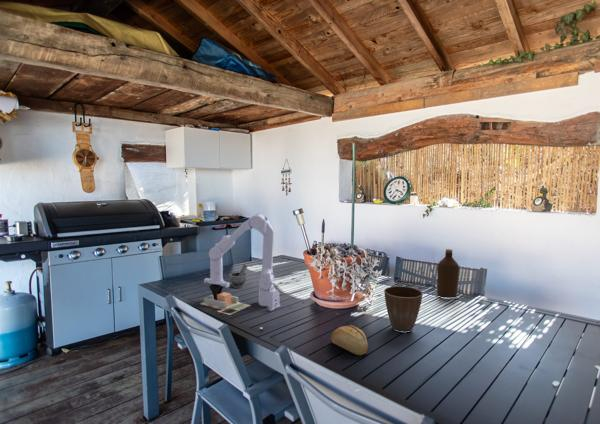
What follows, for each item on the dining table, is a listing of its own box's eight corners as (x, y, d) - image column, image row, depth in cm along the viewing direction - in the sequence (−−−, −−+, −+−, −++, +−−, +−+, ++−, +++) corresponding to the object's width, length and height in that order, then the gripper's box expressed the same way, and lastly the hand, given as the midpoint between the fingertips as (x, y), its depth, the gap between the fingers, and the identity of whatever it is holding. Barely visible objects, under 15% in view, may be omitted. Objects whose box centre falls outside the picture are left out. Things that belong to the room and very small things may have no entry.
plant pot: (394, 339, 142) (396, 298, 140) (376, 324, 156) (377, 287, 155) (428, 335, 146) (430, 296, 144) (407, 321, 160) (409, 285, 159)
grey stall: (238, 302, 177) (238, 297, 177) (224, 308, 169) (224, 302, 168) (218, 297, 183) (217, 292, 183) (203, 303, 175) (203, 297, 175)
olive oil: (451, 301, 186) (453, 252, 184) (431, 296, 195) (434, 249, 192) (461, 297, 193) (464, 250, 191) (442, 292, 201) (444, 247, 199)
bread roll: (340, 338, 143) (341, 318, 142) (374, 351, 133) (375, 329, 132) (324, 346, 136) (325, 325, 135) (358, 360, 126) (359, 337, 125)
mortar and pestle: (236, 290, 201) (236, 268, 199) (226, 286, 207) (225, 265, 206) (252, 286, 209) (252, 265, 208) (242, 282, 215) (242, 262, 214)
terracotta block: (231, 303, 176) (231, 293, 175) (224, 305, 172) (224, 296, 172) (224, 301, 178) (223, 292, 178) (217, 303, 174) (217, 294, 174)
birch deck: (251, 308, 173) (251, 305, 173) (229, 318, 161) (229, 314, 161) (216, 300, 184) (216, 297, 184) (194, 308, 172) (194, 305, 172)
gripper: (233, 272, 176) (234, 300, 177) (211, 267, 183) (211, 294, 185) (223, 275, 170) (223, 304, 171) (200, 270, 177) (201, 298, 179)
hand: (216, 299), depth 177 cm, fingers closed
